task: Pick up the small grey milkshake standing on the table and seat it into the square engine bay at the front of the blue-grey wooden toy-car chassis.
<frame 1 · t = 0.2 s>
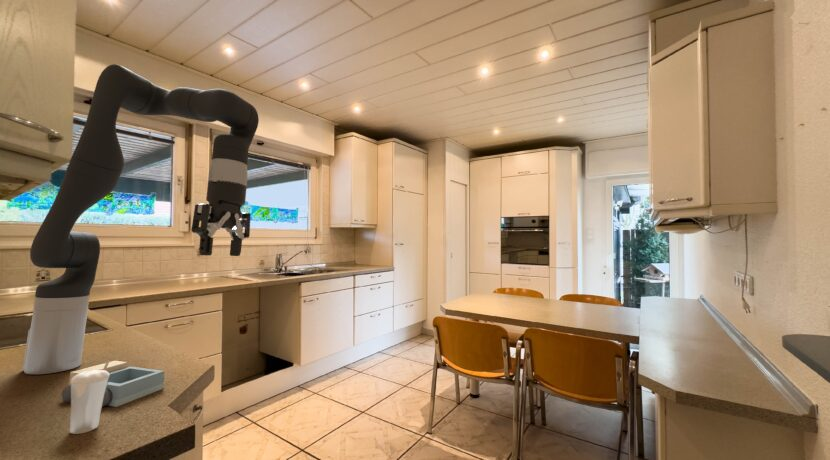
hand: (221, 255, 72), 29 cm above the counter, tool pointing down, fingers open, 8 cm apart
milkshake: (86, 429, 54), on the counter
chassis: (115, 393, 67), on the counter
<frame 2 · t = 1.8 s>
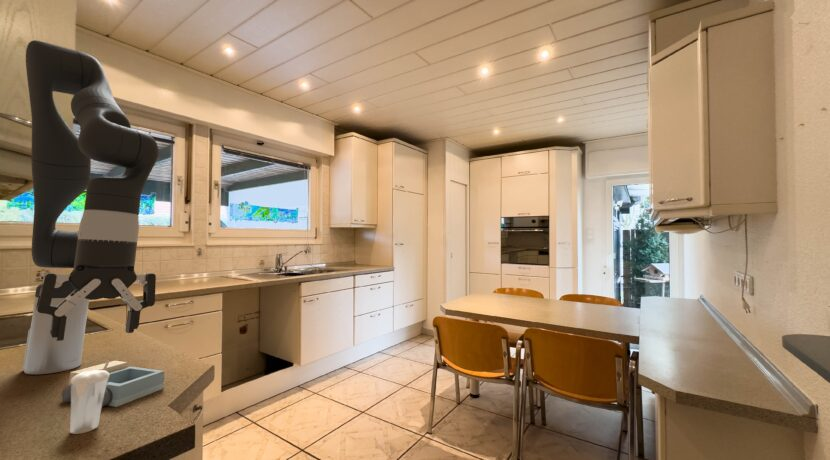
hand: (96, 335, 55), 15 cm above the counter, tool pointing down, fingers open, 8 cm apart
nothing on the counter moved.
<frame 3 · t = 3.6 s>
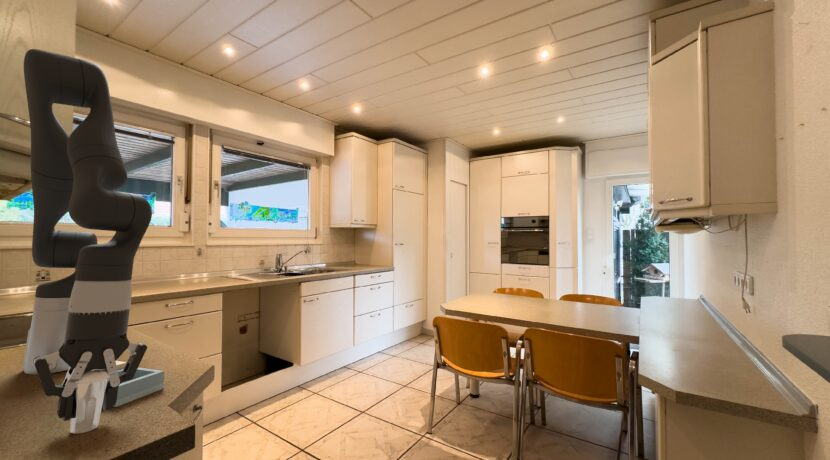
hand: (87, 413, 54), 2 cm above the counter, tool pointing down, fingers closed on milkshake, 4 cm apart
milkshake: (86, 429, 54), on the counter, touching gripper
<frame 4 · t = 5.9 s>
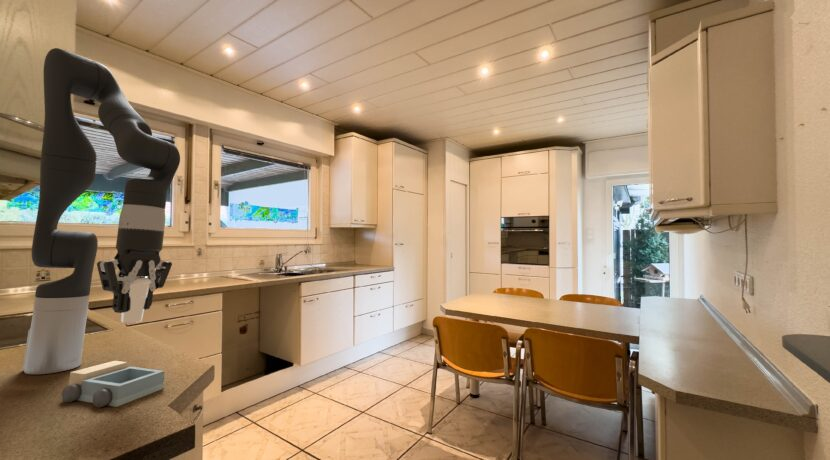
hand: (132, 310, 68), 17 cm above the counter, tool pointing down, fingers closed on milkshake, 4 cm apart
milkshake: (131, 322, 68), point 14 cm above the counter, touching gripper
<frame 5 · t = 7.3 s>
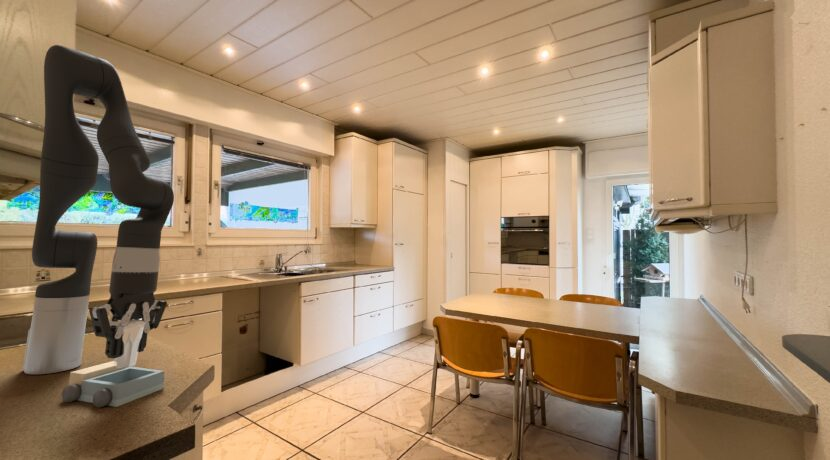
hand: (126, 354, 67), 8 cm above the counter, tool pointing down, fingers closed on milkshake, 4 cm apart
milkshake: (125, 366, 67), point 6 cm above the counter, touching gripper
when the fingers open (5 cm above the counter, at t = 8.3 s): milkshake drops 1 cm, resting on chassis.
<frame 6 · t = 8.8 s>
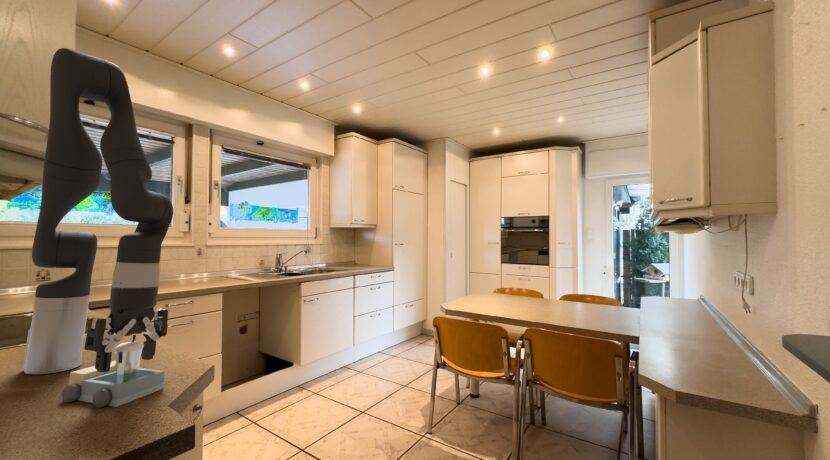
hand: (126, 365, 67), 6 cm above the counter, tool pointing down, fingers open, 8 cm apart
milkshake: (125, 388, 67), point 1 cm above the counter, touching chassis
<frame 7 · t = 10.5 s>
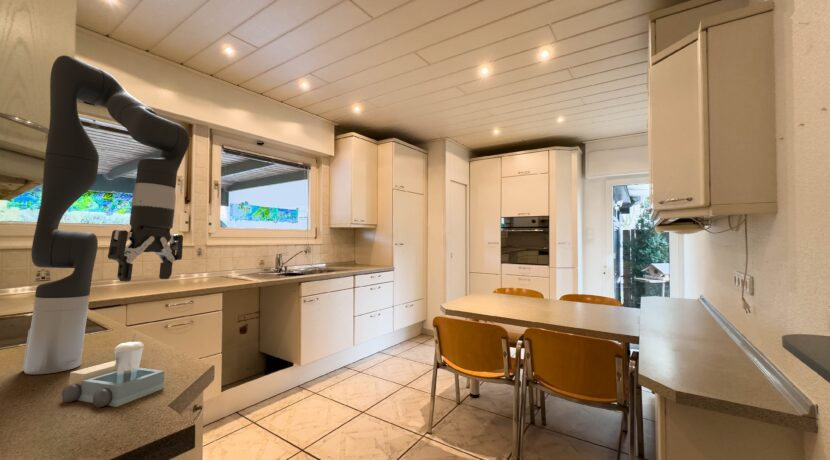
hand: (145, 280, 72), 23 cm above the counter, tool pointing down, fingers open, 8 cm apart
nothing on the counter moved.
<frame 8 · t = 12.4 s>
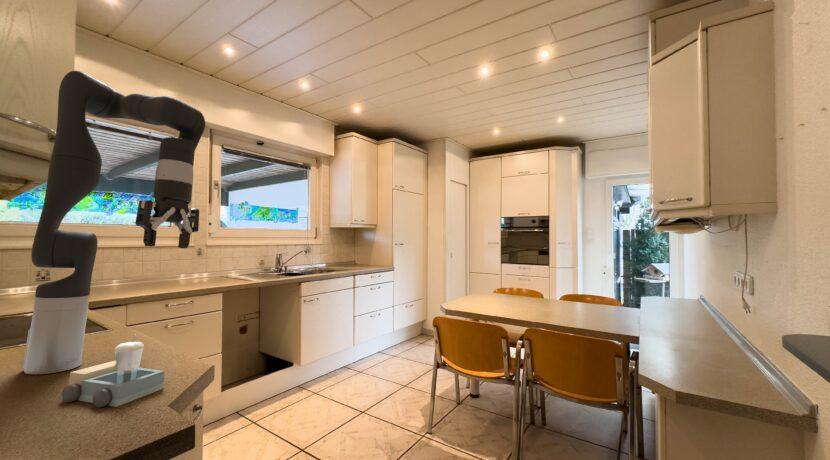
hand: (167, 247, 80), 30 cm above the counter, tool pointing down, fingers open, 8 cm apart
nothing on the counter moved.
at the end: milkshake 0.4 cm from the target spot on the chassis, point 1.0 cm above the chassis's base; milkshake tilted 0°; the gripper is holding nothing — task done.
